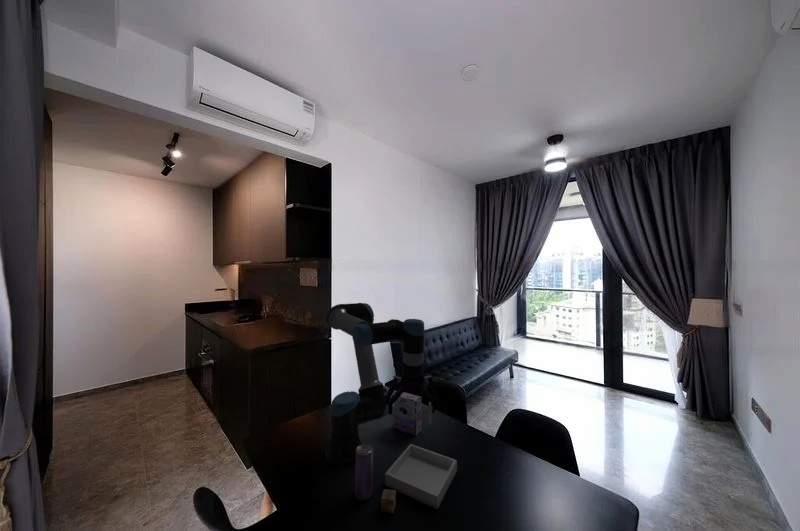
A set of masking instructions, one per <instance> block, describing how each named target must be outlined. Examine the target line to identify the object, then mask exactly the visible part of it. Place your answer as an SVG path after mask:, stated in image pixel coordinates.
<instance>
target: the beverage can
mask: <svg viewBox="0 0 800 531" xmlns="http://www.w3.org/2000/svg"><path fill="white" fill-rule="evenodd" d="M354 463H355V465H354V466H355V468H354V469H355V470H354V472H355V473H354V475H355V476H354V496H355V497H356V499H358V500H360V501H367V500H368V499H369V498H371V497H372V494H373V486H374V485H373V484H374V483H373V481H374V480H373V479H374V478H373V477H374V475H373V474H374V449H373V446H372V445H371V444H367V443H364V444H363V443H362V445H360V446H358V447H357V449H356V459H355V462H354Z"/></svg>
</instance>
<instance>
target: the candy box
mask: <svg viewBox="0 0 800 531" xmlns="http://www.w3.org/2000/svg"><path fill="white" fill-rule="evenodd" d="M396 392H397V391H395V392H393V394H392V396H393V395H394V394H395V393H396ZM392 396H391V397H392ZM394 406H395V410H394V425H392V424H391V428H392V429H394V430H397V431H400V432H403V433H405V434H408V435H411V436H414V437H417V436H418V435H419V434H420V433H421V432H422V396H420V395H415V394H414V393H413V394H412V393H408V392H406V391H405V392H403V393H402V395H401V396H400V397H399V398H398V399H397V400H396V402H395V403H394Z"/></svg>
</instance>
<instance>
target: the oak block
mask: <svg viewBox="0 0 800 531" xmlns="http://www.w3.org/2000/svg"><path fill="white" fill-rule="evenodd" d="M380 502H381V503H380V507H381V508H380V512H384V513H390V514H394V512H395V507H396V504H397V491H396V490H394V489H388V488H387V489H386V488H384V489H383V491H382V495H381V498H380Z"/></svg>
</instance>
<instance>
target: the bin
mask: <svg viewBox="0 0 800 531" xmlns="http://www.w3.org/2000/svg"><path fill="white" fill-rule="evenodd" d="M457 472H458V459H454V458H452V457H449V456H446V455H443V454H440V453H438V452H435V451H432V450H429V449H426V448H423V447H421V446H418V445H415V444H412V443H410V444H409V445H408V446H407V447H406V449H405V450H404V451H402V453H401V454H400V455H399V456H398V457H397V459H396V460H395V461H394V463H393V464H392V465H391V466H390V467H389V468H388V469H387V470H386V472H385V473H384V486H386V487H387V488H390V489H391V490H396V492H399V493H400V494H403V495H404V496H407V497H409V498H411V499H414V500H416V501H417V502H420V503H422V504H424V505H427V506H429V507H430V508H433V509H435V510H437V511H438V509H439V507H440V505H441V503H442V501H443V500H444V498H445V496H446V493H447V492H448V489H449V488H450V485H451V484H452V482H453V479H454V478H455V476H456V473H457Z"/></svg>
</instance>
